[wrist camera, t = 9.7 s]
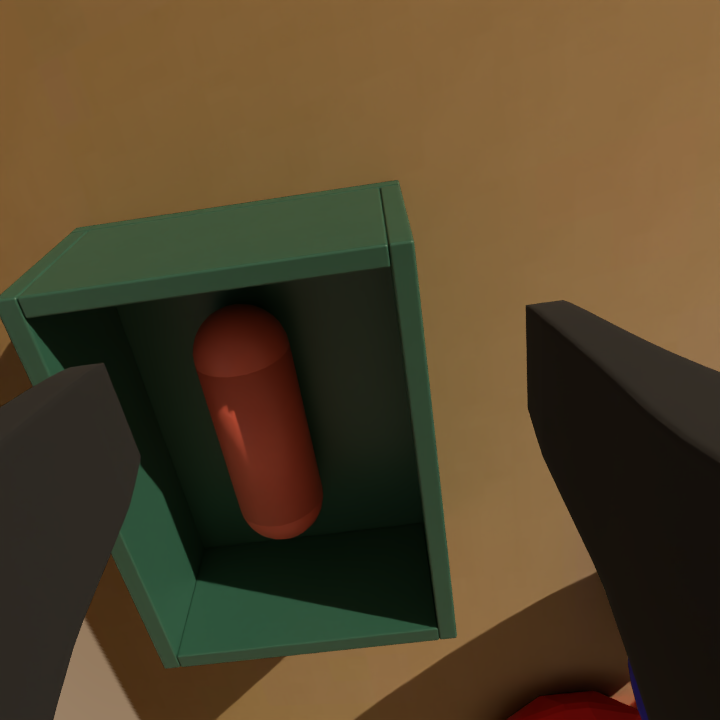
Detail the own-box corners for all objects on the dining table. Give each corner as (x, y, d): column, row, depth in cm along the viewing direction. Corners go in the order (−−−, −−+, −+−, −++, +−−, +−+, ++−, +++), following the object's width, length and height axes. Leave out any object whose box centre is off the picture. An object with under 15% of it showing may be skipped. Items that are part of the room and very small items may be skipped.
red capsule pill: (341, 503, 25) (311, 563, 22) (271, 494, 26) (235, 551, 23) (294, 288, 20) (251, 334, 18) (212, 287, 21) (161, 331, 19)
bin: (196, 550, 27) (164, 669, 23) (75, 227, 20) (-9, 301, 16) (437, 522, 27) (457, 638, 22) (398, 179, 20) (413, 240, 15)
